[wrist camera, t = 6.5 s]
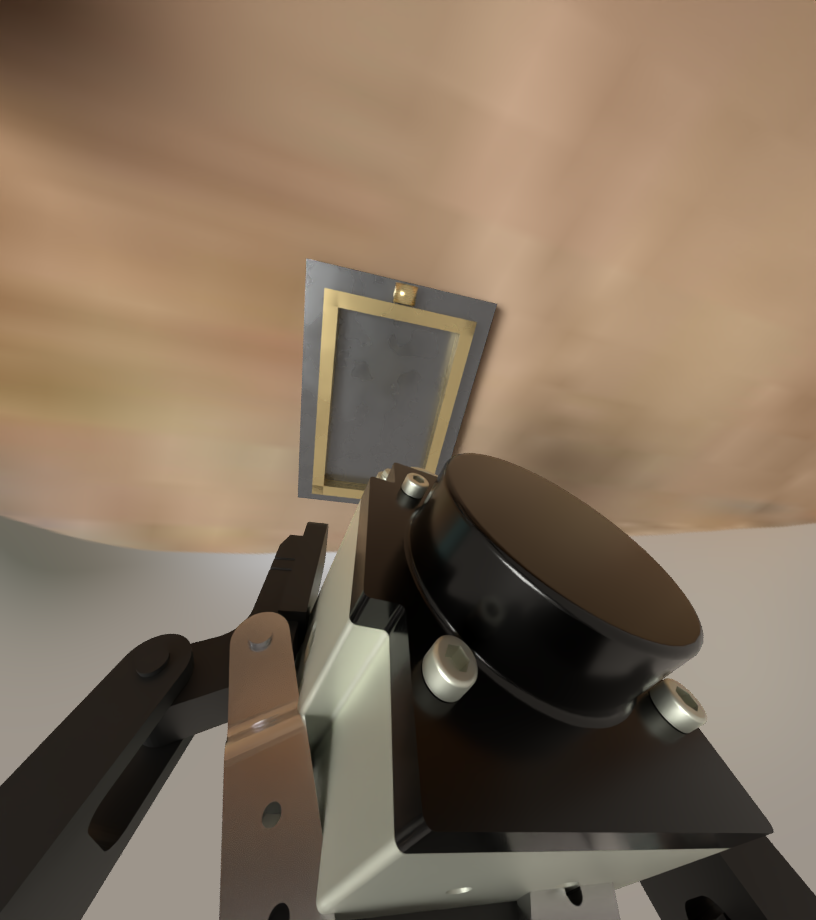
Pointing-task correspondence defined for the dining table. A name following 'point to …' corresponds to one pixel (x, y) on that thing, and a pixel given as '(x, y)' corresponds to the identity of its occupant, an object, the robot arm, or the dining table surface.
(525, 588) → the pneumatic valve
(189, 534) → the dining table surface
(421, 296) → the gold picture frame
